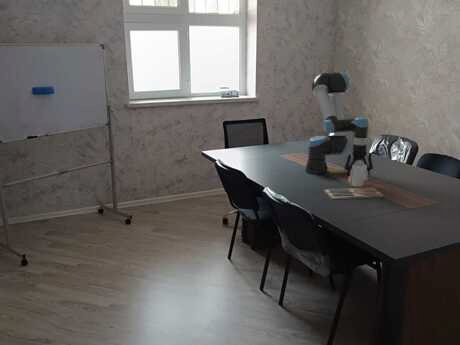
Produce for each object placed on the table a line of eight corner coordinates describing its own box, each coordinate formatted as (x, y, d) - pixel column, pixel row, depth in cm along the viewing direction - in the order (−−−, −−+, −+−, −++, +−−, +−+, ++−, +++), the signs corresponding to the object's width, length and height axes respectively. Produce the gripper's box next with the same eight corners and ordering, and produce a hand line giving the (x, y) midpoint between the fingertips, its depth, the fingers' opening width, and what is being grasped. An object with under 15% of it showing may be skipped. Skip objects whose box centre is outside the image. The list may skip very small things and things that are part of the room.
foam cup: (354, 187, 255) (355, 166, 252) (346, 183, 264) (347, 162, 260) (368, 186, 258) (370, 165, 254) (360, 182, 266) (361, 161, 263)
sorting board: (324, 190, 251) (324, 188, 251) (372, 188, 253) (373, 186, 253) (331, 199, 237) (331, 197, 236) (383, 196, 239) (383, 194, 238)
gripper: (343, 146, 250) (341, 183, 256) (380, 144, 251) (378, 181, 257) (339, 143, 257) (337, 179, 263) (375, 142, 258) (373, 178, 264)
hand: (357, 180), depth 260 cm, fingers closed on foam cup, 9 cm apart
